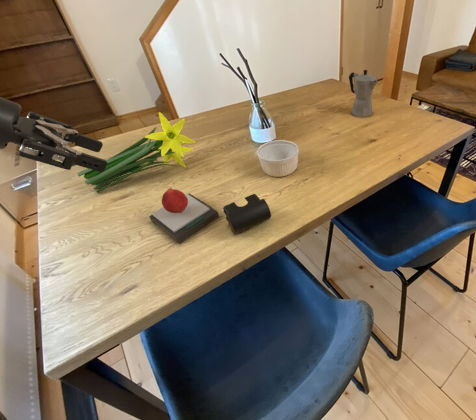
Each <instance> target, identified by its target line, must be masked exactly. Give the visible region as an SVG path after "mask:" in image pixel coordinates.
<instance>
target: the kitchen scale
mask: <svg viewBox="0 0 476 420" xmlns="http://www.w3.org/2000/svg"><path fill="white" fill-rule="evenodd" d="M185 195H186V197H187V199H188V205H187V207H186V208H185V210H183V212H181V213H171V212H168V211H166V210H165V209H164V207H163V206H162V207H161V208H160V209H157V210H156V211H154V212H153V213H151V214H150V215H149V216H148V217H149V219H150V220H151V222H152V223H153V224H154V225H155V226H157V227H158V228H159V229H161V230H162V231H163V232H164V233H165V234H167V235H168V236H169V237H170V238H171V239H173V240H174V241H175V242H176V243H178V244H179V245H180V244H181V243H183V242H184V241H186V240H187V239H188V238H191V237H192V236H193V235H194V234H196V233H198V232H199V231H200V230H202V229H203V228H205V227H206V226H208V225H209V224H210V223H212V222H214V221H215V220H217V219H219V218H220V215H219V212H218V210H216V209H215V208H213V207H211V206H210V205H208V204H207V203H205V202H204V201H202V200H200V199H199V198H198V197H196V196H194V194H191V193H186V194H185Z"/></svg>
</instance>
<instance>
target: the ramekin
mask: <svg viewBox="0 0 476 420" xmlns="http://www.w3.org/2000/svg"><path fill="white" fill-rule="evenodd" d="M299 153H300V151H299V146H298V144H296V143H295V142H294V141H291V140H285V139H276V140H270V141H267V142H265V143H263V144H261V145H260V146H258V148H257V151H256V156H257V159H258V160H259V164H260V166H261V169H262V171H263V172H264V173H265V174H267V175H269V176H271V177H274V178H281V177H286V176H287V177H288V176H289V175H291V174H292V173H294V172H295V171H296V170H297V168H298V164H299Z"/></svg>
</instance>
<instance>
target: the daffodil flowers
mask: <svg viewBox="0 0 476 420" xmlns="http://www.w3.org/2000/svg"><path fill="white" fill-rule="evenodd" d="M158 118H159V122H160V125H161V128H162V131H157V132H155V131H156V129H157V126H155V127H154V128H153V129H152V130H151V131H150V132H149V133H147V135H145V136H144V137H142V138H141V139H140V140H138V141H137V142H135V143H133V144H132V145H130V146H128V147H127V148H125V149H123V150H122V151H119V152H118V153H116V154H115V155H113V156H110V157H109V158H108V159H105V160H106V161H107V166H106V168H105V170H104V171H103V172H99V171H95V170H92V169H88V168H85V169H83V170H81V171H79V172H77V176H78V177H82V176H83V178H84V179H85V180H84V184H86V185H87V186H88V185H91V186H94V187H93V190H96V191H95V193H97V194H98V193H101V192H103V191H105V190H106V189H109V188H110V187H112V186H114V185H116V184H117V183H119V182H121V181H123V180H125V179H127V178H128V177H130V176H131V175H132V176H133V175H134V174H137V173H141V172H143V171H146V170H149V169H153V168H158V167H161V166H162V167H164V166H171V167H172V166H173V167H176V165H174V164H170V163H169V162H170V160H171V159H172V160H174V161H175V162H176V163H177V164H178V165H180V166H181V167H183V168H185V169H186V168H187V166H186V164H185V162H184V161H183V159H182V158H185V153H189V152H192V151H194V148H192V147H188V146H182V143H183V144H195V143H196V141H195V140H193V139H192V138H189V136H186V135H184V134H182V133H181V131H182V130H183V128H184V127H185V126H184V125H185V122H186V118H182V119H180V120H179V121H177V122H175V123H174V124H173V125H171V123H170V121H169V120H168V118H167V117H166V116H165V115H164V114H163V113H162V112H161V111H158ZM162 157H163V161H160V160H158V159H159V158H162Z"/></svg>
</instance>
